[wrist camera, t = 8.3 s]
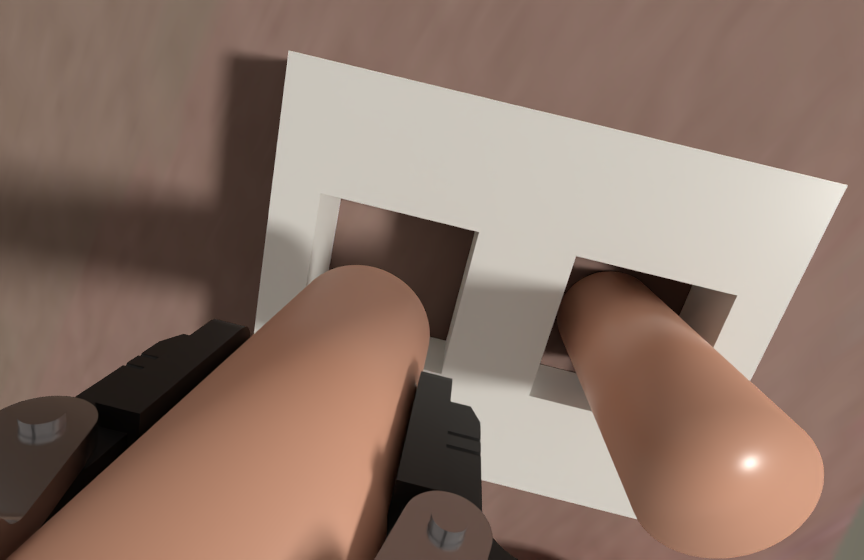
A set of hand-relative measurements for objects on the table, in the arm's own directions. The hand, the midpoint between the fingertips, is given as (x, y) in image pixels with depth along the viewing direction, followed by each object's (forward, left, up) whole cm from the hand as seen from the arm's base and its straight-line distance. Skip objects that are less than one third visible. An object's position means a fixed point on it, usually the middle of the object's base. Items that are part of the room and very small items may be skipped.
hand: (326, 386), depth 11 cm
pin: (0, 0, -3) cm, 3 cm away
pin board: (0, +4, -10) cm, 11 cm away
